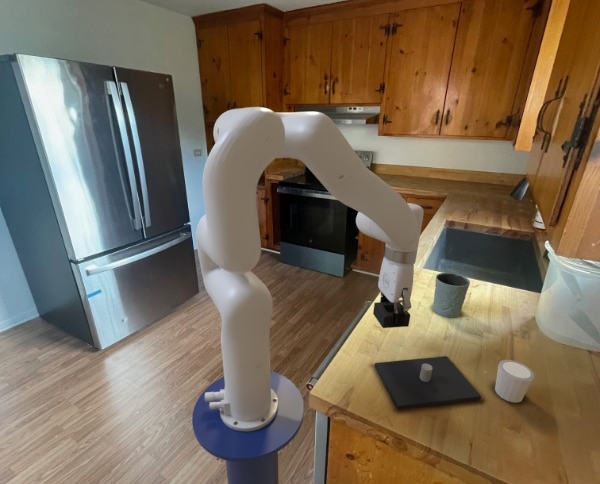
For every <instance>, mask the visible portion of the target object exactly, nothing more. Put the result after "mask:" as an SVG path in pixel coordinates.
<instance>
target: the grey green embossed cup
mask: <svg viewBox="0 0 600 484" xmlns="http://www.w3.org/2000/svg"><path fill="white" fill-rule="evenodd" d="M470 285H471V281H470V280H469V278H467V277H466V276H464V275H462V274H460V273H459V274H458V273H456V272H441V273H438V274H436V276H435V288H434V294H433V295H434V296H433V304H432V310H433V311H434V312H435V313H436V314H438V315H439V316H442V317H445V318H457V317H459V316H460V315H461V312H462V309H463V306H464V303H465V300H466V296H467V293H468V290H469V288H470Z"/></svg>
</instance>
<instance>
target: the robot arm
mask: <svg viewBox="0 0 600 484" xmlns="http://www.w3.org/2000/svg"><path fill="white" fill-rule="evenodd" d="M212 133H213V140H214V145H213V147H212V148H211V150H210V152H209V153H208V155H207V158H206V161H205V163H204V167H203V171H202V197H203V207H204V215H202V216H201V217H200V219H199V221H198V223H197V225H196V227H195V243H196V250H197V254H198V255H197V256H198V260H199V265H200V266H199V267H200V270H201V275H202V281H203V284H204V288H205V291H206V293H207V294H208V296H209V298H210V299H211V301H212V302H213V304H214V306H215V307H216V309H217V310H218V312H219V315H220V319H221V331H220V348H221V349H220V350H221V356H222V367H223V377H224V380H225V389H222V390H220V392H206V393H205V402H210V405H209V408H210V409H216V408H220V416H221V419H222V421H223V422H224V423H225V424H226V425H227V426H228V427H230V428H232V429H234V430H237V431H246V432H247V431H254V430H257V429H260V428H262V427H264V426H266V425H267V424H269V423H270V422H271V421H272V420H273V418H274V417H275V416H276V413H277V411H278V397H277V395H276V393H275V392H274V391H273V390H272V389H271V375H270V371H271V346H270V345H271V343H270V342H271V341H270V340H271V339H270V338H271V337H270V333H271V321H272V317H273V311H274V310H273V309H274V301H273V297H272V294H271V292H270V290H269V288H268V287H267V286H266V285H265V283H264V282H263V281H262V280H261V279H260V278H259V277H258V275H256V274H255V273H254V272H252V270H253V269H254V268H255V267H256V266H257V264H258V263H259V261H260V258H261V254H262V241H261V234H260V233H261V232H260V224H259V214H258V207H257V206H258V204H257V202H258V201H257V189H258V185H259V181H260V178H261V176H262V174H264V171H265V170H266V169H267V167H269V165H270V164H271V163H272V162H273V161H274V160H275V159H294V160H299V161H301V162H302V163H303V164H304V165H305V167H306V168H308V170H309V171H310V172H311V173H312V175H314V177H315V178H316V179H317V180H318V181H319V182H320V184H322V186H323V187H324V188H325V189H326V191H328V193H329V194H330V195H331V196H332V197H333V198H335V199H336V200H338V201H339V202H340V203H342V204H343V205H345V206H347V207H348V208H351V209H353V210H355V211H357V215H356V216H355V224H356V227H357V229H358V230H359V231H360V232H361V233H362V234H363V235H365V236H368V237H369V238H372V239H375V240H376V241H377V240H378V241H379V242H382V243H385V245H384V246H385V247H384V255H383V258H382V262H381V266H380V270H379V276H378V281H377V286H378V289H379V291H380V300H379V302H392V303H394V311H393V313H392V319H391V325H392V326H402V325H403V324H404V319H405V313H407V311H408V312H409V310H411V309H412V302H411V297H412V293H413V284H414V275H415V274H414V273H415V264H416V261H417V256H418V255H417V254H418V249H419V243H420V239H421V238H420V237H421V232H422V226H423V222H424V221H423V220H424V212H425V211H424V208H423V207H422V206H421V205H419V204H417V203H412V202H411V203H410V202H407V201H406V199H405V198H404V197H403V196H402V195H401V194H400V193H399V192H397V190H395V189H394V188H393V187H391V185H389V183H386V182H385V181H384V180H383V179H382V178H380V177H379V176H378V175H377V174H376V173H374V172H373V171H371V170H370V169H369V168H368V167H367V166H366V165H365V164H364V162H363V160H362V159H361V158H360V156H359V155H358V154H357V153H356V150H354V148H353V147H352V146H351V144H350V143H349V141H348V140H347V138H346V137H345V136H344V134H343V133H342V131H341V130H340V129H339V127H338V126H337V125H336V123H335V122H334V121H333V119H332V118H330V116H328V115H327V114H325V113H323V112H320V111H295V112H294V111H293V112H275V111H273V110H272V109H270V108H266V107H263V106H249V107H243V108H241V107H240V108H232V109H229V110H226V111H225V112H223V113H222V114H220V115H219V117H218V118H217V119H216V121H215V123H214V125H213V132H212ZM398 303H401V305H402V306H401V307H399V308H398ZM216 400H220V402H212V401H216Z"/></svg>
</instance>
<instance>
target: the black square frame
mask: <svg viewBox="0 0 600 484" xmlns="http://www.w3.org/2000/svg"><path fill="white" fill-rule="evenodd" d="M401 306H402V303H398V308H399V307H401ZM393 311H394V303H392V302H380V301H379V302H374V303H373V310H372V314H373V316H374V318H375V319H376V320H377V322H378V324H379V325H380V326H381V328H382V329H391V328H392V329H393V328H407V327H408V328H409V326H410V321H411V313H410V312H409V310H408V311H407V313H405V319H404V324H403V325H402V326H392V325H391V319H392V313H393Z"/></svg>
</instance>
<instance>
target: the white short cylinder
mask: <svg viewBox="0 0 600 484" xmlns="http://www.w3.org/2000/svg"><path fill="white" fill-rule="evenodd" d="M534 378H535V374H534V372H533V371H532V369H531V368H530V367H529V366H527V365H525V364H524V363H522V362H519V361H517V360H512V359H503V360H501V361H499V363H498V367H497V374H496V378H495V379H496V380H495V386H494V390H495V393H496V394H497V396H498V397H500V398H501V399H503V400H505V401H507V402H510V403H514V404H515V403H521V402H522V401H523V399H524V397H525V395H526V394H527V392H528V389H529V388H530V387H531V384H532V383H533V380H534Z"/></svg>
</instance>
